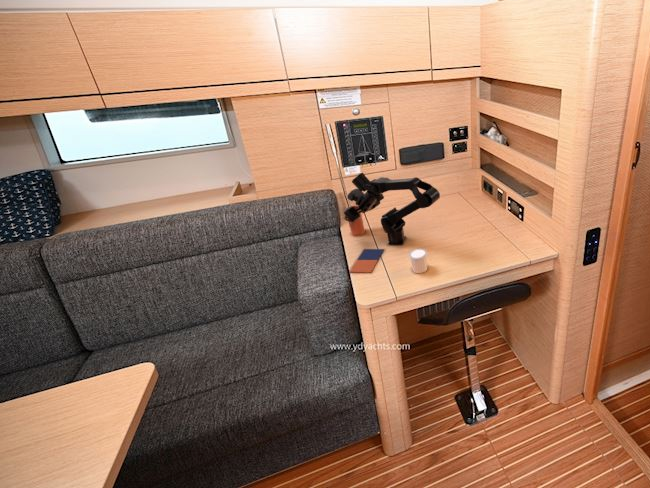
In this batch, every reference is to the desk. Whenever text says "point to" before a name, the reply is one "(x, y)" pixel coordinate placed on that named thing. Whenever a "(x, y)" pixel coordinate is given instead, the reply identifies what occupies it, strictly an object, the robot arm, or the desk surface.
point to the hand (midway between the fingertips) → (355, 216)
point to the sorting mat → (366, 261)
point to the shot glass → (418, 260)
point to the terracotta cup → (357, 225)
